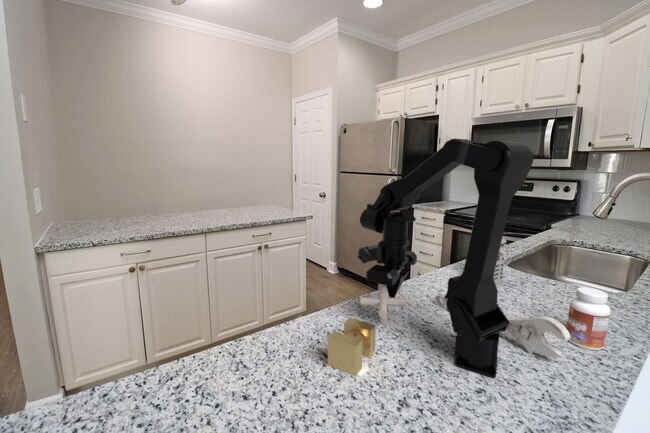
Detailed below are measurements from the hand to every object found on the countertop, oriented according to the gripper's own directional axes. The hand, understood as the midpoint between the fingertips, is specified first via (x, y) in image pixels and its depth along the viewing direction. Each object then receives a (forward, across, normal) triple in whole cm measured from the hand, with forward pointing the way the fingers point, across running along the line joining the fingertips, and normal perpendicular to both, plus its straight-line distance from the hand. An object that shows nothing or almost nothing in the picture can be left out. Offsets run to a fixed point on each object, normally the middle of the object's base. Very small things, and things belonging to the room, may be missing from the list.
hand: (391, 298), depth 75 cm
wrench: (+4, -3, +21) cm, 22 cm away
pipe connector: (+3, +6, 0) cm, 7 cm away
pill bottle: (+3, -8, +38) cm, 39 cm away
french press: (+4, -35, +19) cm, 40 cm away
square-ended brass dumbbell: (+3, +22, +1) cm, 22 cm away
